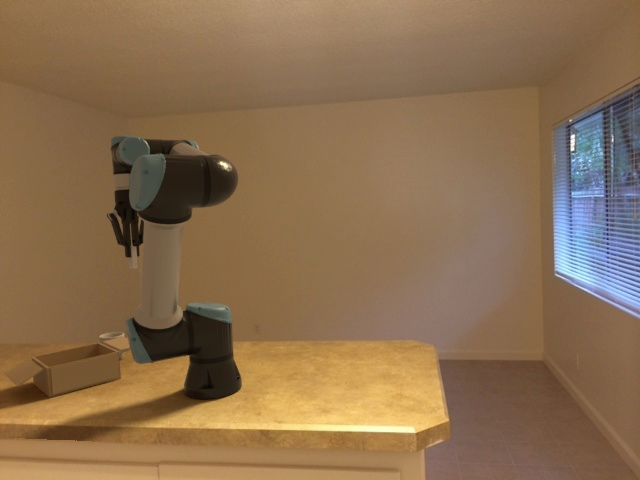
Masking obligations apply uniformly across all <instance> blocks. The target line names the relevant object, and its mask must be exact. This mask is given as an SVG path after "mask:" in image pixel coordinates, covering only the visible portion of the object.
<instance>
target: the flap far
mask: <svg viewBox="0 0 640 480" xmlns="http://www.w3.org/2000/svg"><path fill="white" fill-rule="evenodd" d="M103 343H104V344H106V345H108V346H111V347H113V348H115V349H117V350H119V351H124V350H128V349H130V345H129V341H128V337H126V336H124V337H121V338H116V339H112V340H107V341H103Z"/></svg>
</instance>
